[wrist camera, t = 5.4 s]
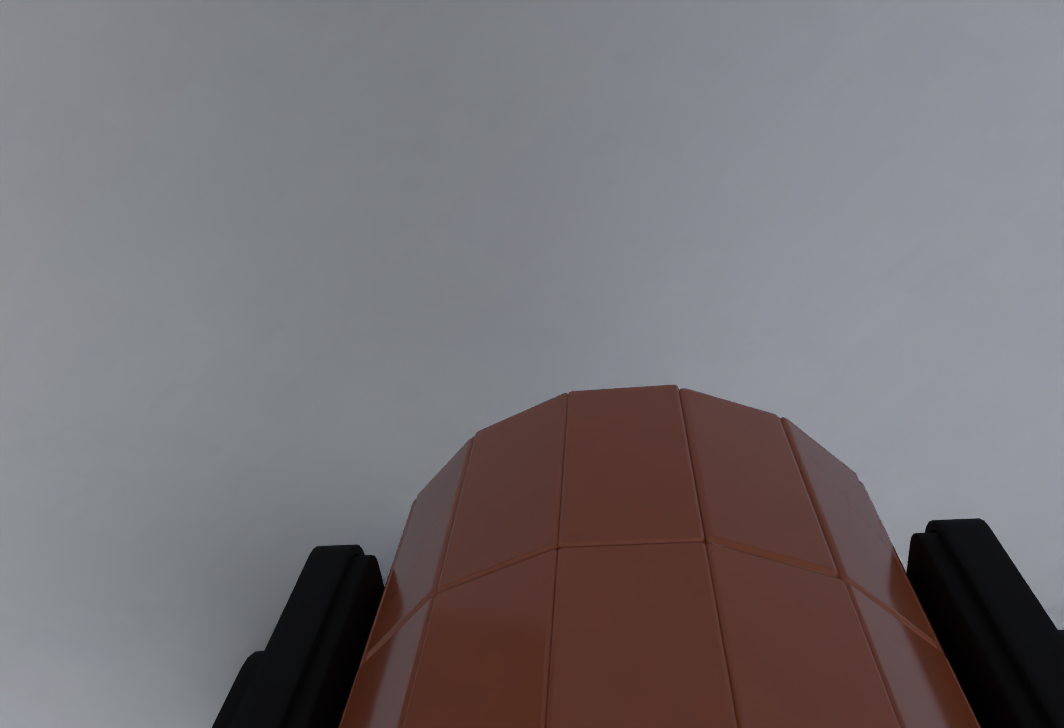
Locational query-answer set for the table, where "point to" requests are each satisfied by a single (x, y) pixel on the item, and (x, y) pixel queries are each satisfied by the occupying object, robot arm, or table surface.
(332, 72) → the table surface
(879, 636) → the flower pot
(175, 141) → the table surface
